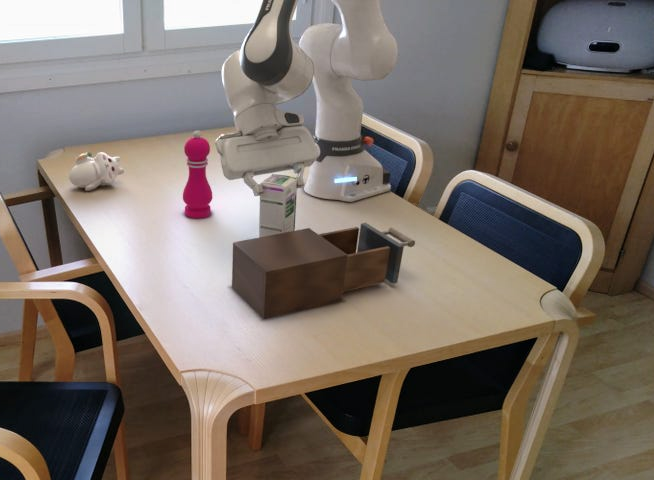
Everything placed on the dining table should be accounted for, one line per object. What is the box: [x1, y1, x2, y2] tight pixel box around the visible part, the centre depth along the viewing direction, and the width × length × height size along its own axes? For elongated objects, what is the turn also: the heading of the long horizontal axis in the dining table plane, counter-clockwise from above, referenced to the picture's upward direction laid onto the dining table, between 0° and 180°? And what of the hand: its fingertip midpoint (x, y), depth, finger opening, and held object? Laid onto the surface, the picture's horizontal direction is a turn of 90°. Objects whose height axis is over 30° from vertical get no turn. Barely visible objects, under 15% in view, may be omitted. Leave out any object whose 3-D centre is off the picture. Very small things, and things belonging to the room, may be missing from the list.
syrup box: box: [258, 173, 298, 238], centre depth 139 cm, size 6×6×14 cm
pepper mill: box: [182, 130, 213, 219], centre depth 160 cm, size 7×7×20 cm
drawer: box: [317, 222, 416, 293], centre depth 133 cm, size 20×12×8 cm, turn 111°
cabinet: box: [231, 227, 348, 320], centre depth 128 cm, size 17×14×10 cm
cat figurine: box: [68, 151, 125, 192], centre depth 182 cm, size 10×8×15 cm
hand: (280, 190), depth 135 cm, fingers closed on syrup box, 8 cm apart
